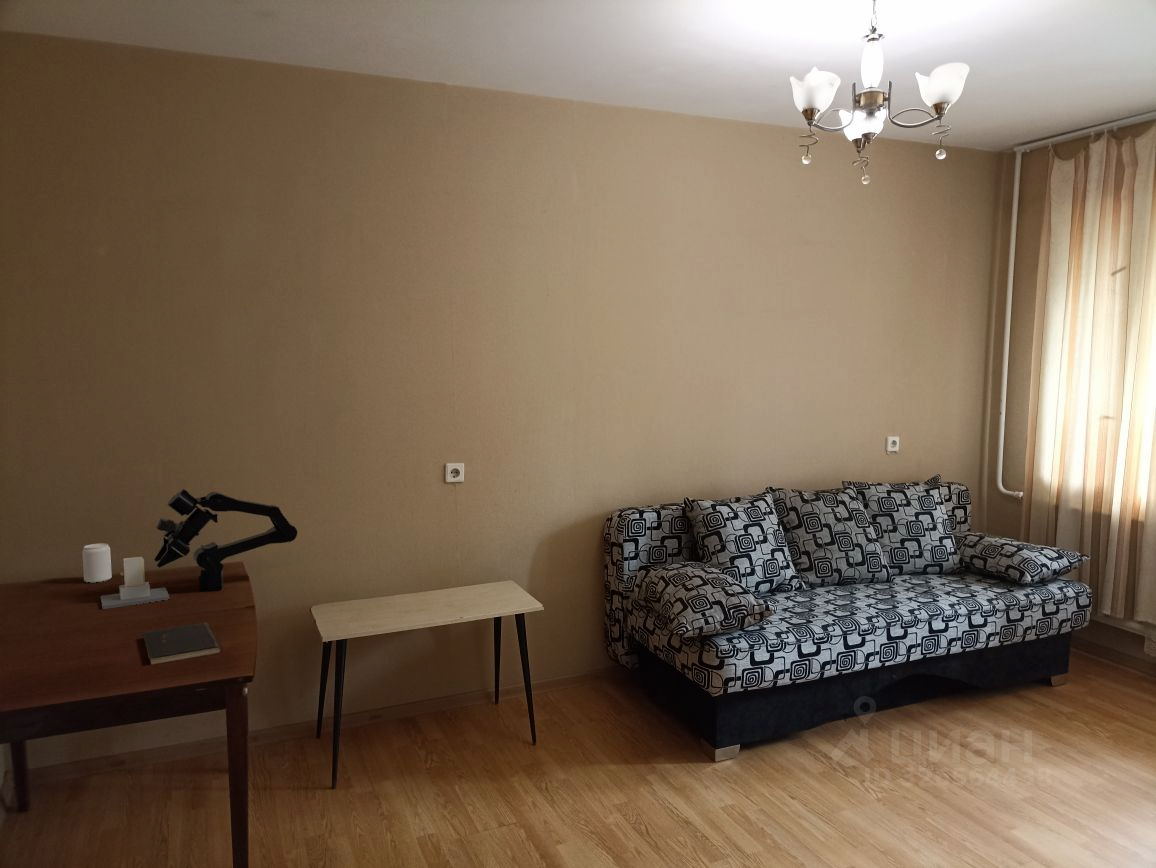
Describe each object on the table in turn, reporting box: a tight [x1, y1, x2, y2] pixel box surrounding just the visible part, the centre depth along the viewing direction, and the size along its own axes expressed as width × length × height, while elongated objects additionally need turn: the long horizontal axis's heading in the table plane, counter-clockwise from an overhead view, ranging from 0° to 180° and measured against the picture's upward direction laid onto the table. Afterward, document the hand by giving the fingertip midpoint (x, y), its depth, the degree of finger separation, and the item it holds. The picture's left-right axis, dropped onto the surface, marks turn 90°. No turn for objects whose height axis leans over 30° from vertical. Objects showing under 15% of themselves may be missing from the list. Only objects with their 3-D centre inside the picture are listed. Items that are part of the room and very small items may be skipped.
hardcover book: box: [142, 621, 222, 665], centre depth 210 cm, size 16×23×2 cm
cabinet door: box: [119, 556, 146, 588], centre depth 252 cm, size 7×2×12 cm, turn 122°
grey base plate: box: [100, 581, 171, 610], centre depth 253 cm, size 18×13×4 cm
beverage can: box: [81, 542, 113, 584], centre depth 276 cm, size 8×8×12 cm
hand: (156, 563), depth 255 cm, fingers open, 9 cm apart
